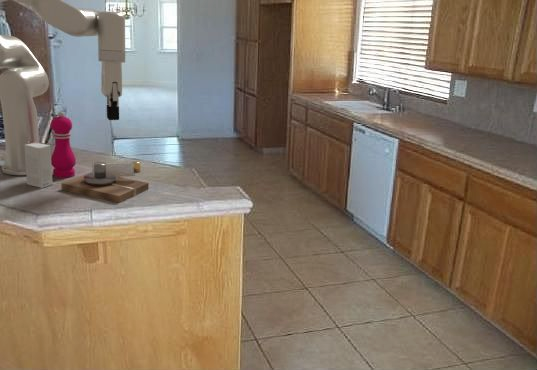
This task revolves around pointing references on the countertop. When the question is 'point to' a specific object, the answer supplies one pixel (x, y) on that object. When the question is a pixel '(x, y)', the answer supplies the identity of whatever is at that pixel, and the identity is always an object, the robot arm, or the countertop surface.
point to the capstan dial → (110, 172)
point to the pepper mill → (62, 147)
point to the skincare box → (38, 165)
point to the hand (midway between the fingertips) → (113, 118)
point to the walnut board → (107, 188)
